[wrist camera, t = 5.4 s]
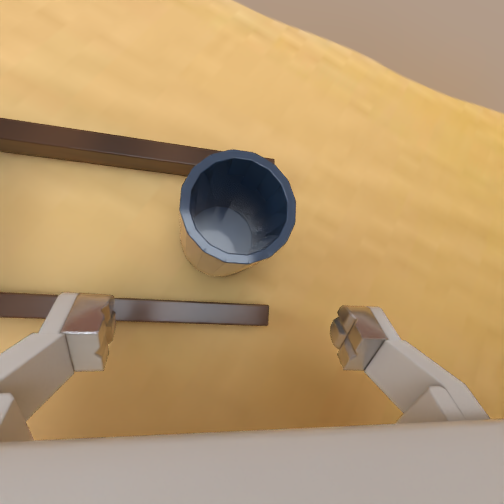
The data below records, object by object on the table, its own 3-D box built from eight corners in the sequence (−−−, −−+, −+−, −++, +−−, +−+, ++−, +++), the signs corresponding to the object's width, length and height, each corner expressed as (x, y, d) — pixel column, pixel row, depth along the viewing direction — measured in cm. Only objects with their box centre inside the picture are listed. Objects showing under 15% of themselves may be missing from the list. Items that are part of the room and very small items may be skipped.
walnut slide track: (267, 170, 21) (277, 154, 19) (260, 323, 19) (271, 326, 17) (-37, 126, 17) (-71, 100, 15) (-78, 312, 16) (-123, 314, 13)
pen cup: (257, 207, 21) (297, 158, 13) (253, 279, 20) (294, 267, 13) (184, 199, 20) (185, 141, 12) (178, 274, 19) (174, 258, 12)
